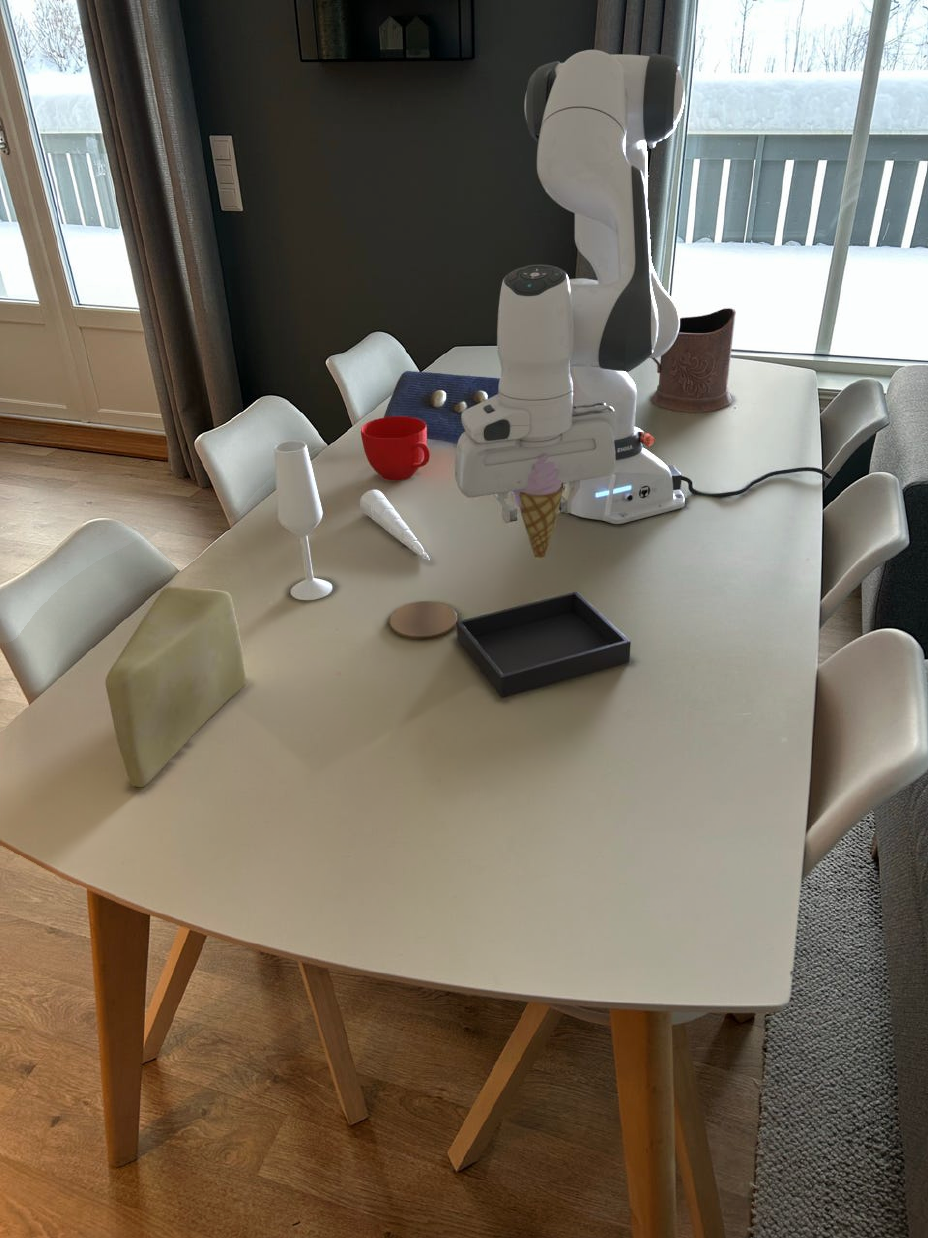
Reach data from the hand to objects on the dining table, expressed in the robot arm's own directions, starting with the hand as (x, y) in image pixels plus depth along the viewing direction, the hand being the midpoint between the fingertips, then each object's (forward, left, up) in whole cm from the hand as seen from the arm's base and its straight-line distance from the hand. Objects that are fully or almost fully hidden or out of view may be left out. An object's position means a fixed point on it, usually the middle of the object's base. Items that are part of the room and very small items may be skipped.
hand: (536, 515), depth 116 cm
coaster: (+14, -12, -21) cm, 27 cm away
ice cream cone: (0, 0, -6) cm, 6 cm away
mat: (-19, -90, -21) cm, 95 cm away
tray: (0, +1, -21) cm, 21 cm away
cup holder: (-66, -91, -21) cm, 115 cm away
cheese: (+49, +4, -21) cm, 53 cm away
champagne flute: (+29, -27, -21) cm, 45 cm away
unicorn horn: (+12, -42, -21) cm, 48 cm away
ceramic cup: (+6, -67, -21) cm, 71 cm away
